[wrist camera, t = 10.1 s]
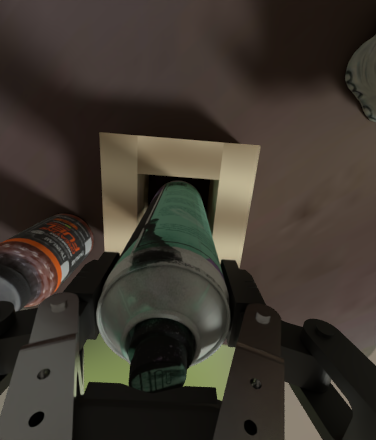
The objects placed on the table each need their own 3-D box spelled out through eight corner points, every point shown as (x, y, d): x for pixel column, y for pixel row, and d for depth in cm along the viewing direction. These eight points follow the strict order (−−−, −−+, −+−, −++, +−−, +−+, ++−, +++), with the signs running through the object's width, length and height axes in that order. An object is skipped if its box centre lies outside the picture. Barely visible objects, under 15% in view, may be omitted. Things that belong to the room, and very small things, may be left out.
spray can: (144, 197, 25) (18, 365, 6) (185, 170, 24) (183, 271, 5) (171, 235, 27) (137, 462, 8) (211, 211, 26) (282, 402, 7)
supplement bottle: (104, 229, 30) (48, 289, 18) (82, 267, 31) (17, 345, 19) (56, 201, 28) (-41, 245, 16) (35, 242, 30) (-66, 309, 18)
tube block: (121, 134, 26) (99, 132, 19) (241, 144, 26) (260, 145, 20) (123, 245, 30) (105, 274, 24) (226, 252, 31) (236, 282, 24)
